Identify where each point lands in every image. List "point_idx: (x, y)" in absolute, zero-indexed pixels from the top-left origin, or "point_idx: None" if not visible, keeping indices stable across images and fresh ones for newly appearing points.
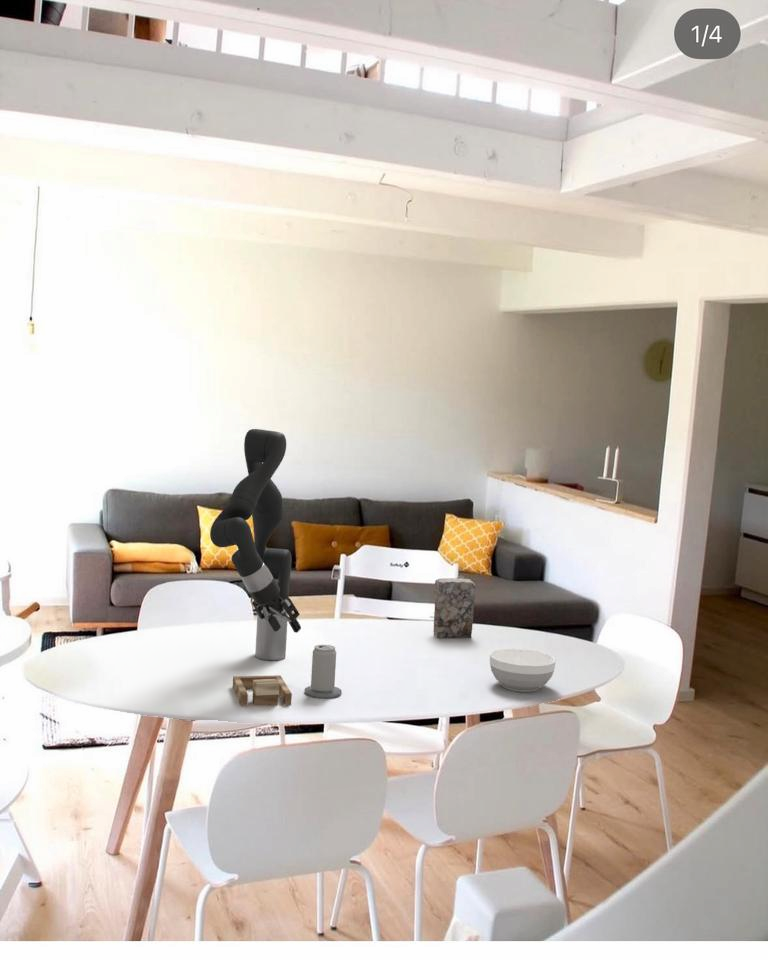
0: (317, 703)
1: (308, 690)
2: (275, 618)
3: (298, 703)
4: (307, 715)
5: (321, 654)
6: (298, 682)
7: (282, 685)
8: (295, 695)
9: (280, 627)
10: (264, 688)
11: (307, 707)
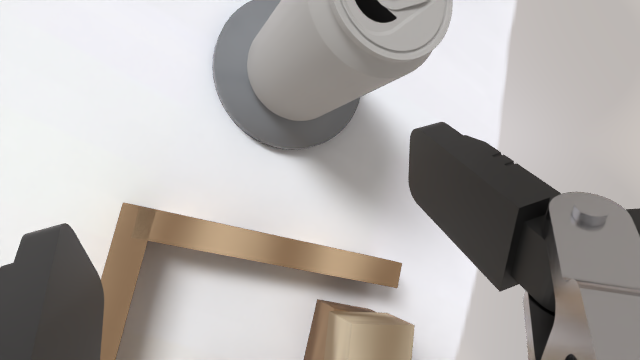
0: (390, 159)
1: (277, 129)
2: (41, 347)
3: (371, 225)
4: None
5: (426, 58)
6: (92, 87)
7: (294, 260)
8: (281, 194)
9: (67, 225)
10: None
11: (417, 213)
